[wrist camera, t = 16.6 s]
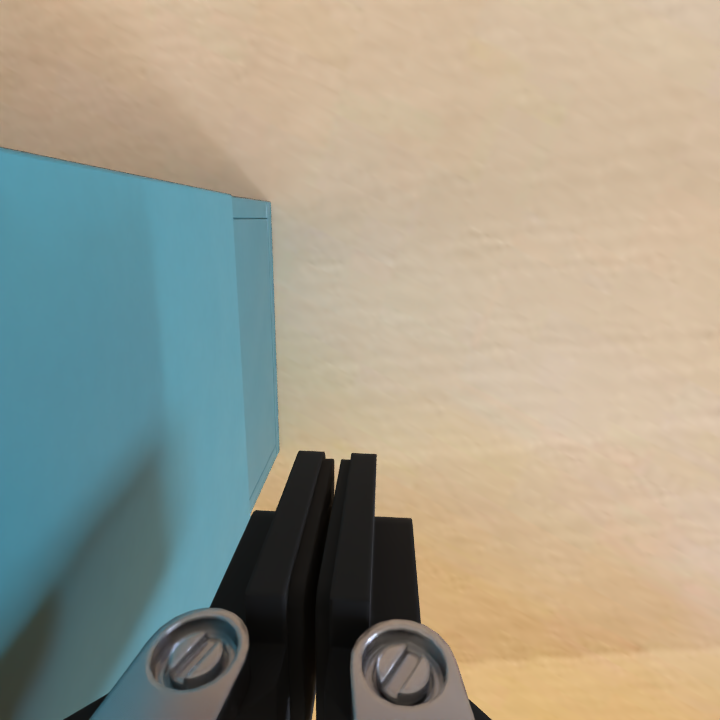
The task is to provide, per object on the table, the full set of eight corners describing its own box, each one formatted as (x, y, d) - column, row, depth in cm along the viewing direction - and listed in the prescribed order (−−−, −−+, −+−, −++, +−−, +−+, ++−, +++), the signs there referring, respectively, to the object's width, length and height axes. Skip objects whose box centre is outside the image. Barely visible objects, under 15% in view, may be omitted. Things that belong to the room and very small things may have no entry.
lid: (-105, 1471, 5) (-28, 1464, 5) (-1946, -190, 1) (-1495, -173, 1) (232, 532, 20) (251, 532, 20) (208, 193, 16) (232, 194, 16)
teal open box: (34, 440, 27) (-75, 509, 21) (-16, 196, 23) (-172, 187, 17) (279, 450, 27) (245, 525, 20) (270, 201, 23) (224, 194, 16)
